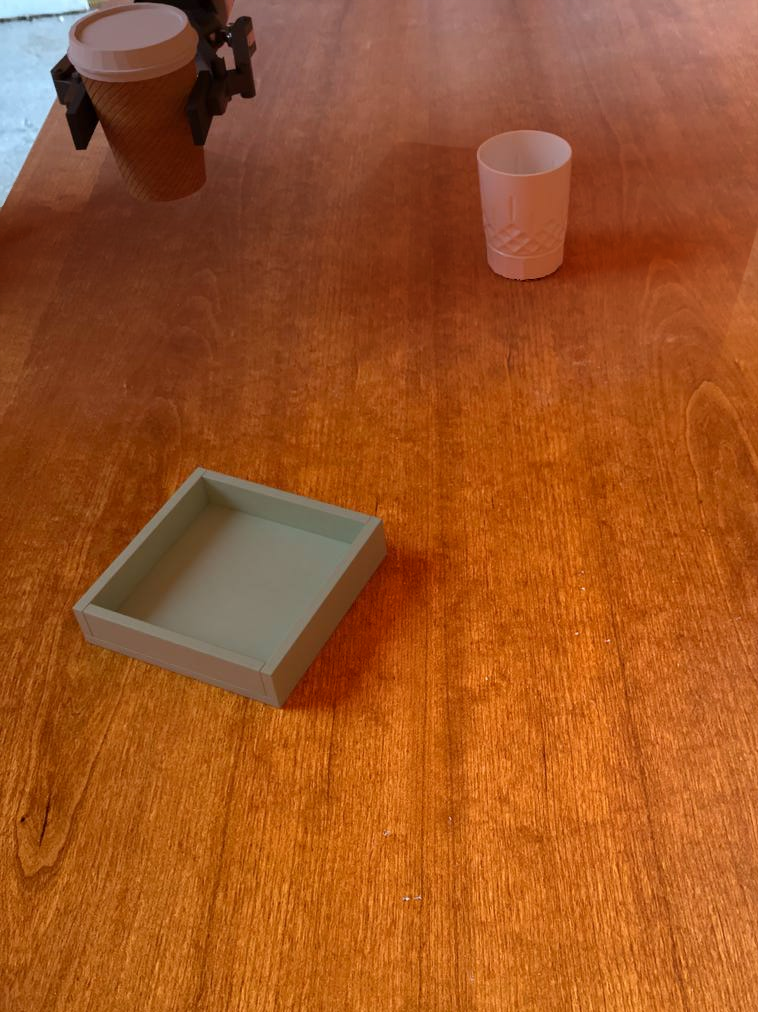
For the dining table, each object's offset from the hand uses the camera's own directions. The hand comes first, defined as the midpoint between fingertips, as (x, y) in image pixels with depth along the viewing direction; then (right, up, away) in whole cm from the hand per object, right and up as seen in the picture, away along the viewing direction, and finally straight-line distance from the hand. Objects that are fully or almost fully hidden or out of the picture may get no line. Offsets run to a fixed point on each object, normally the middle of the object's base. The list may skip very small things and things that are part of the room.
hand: (135, 129), depth 86 cm
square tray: (+9, -35, -7) cm, 37 cm away
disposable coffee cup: (0, -1, +8) cm, 8 cm away
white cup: (+29, -4, +19) cm, 35 cm away
